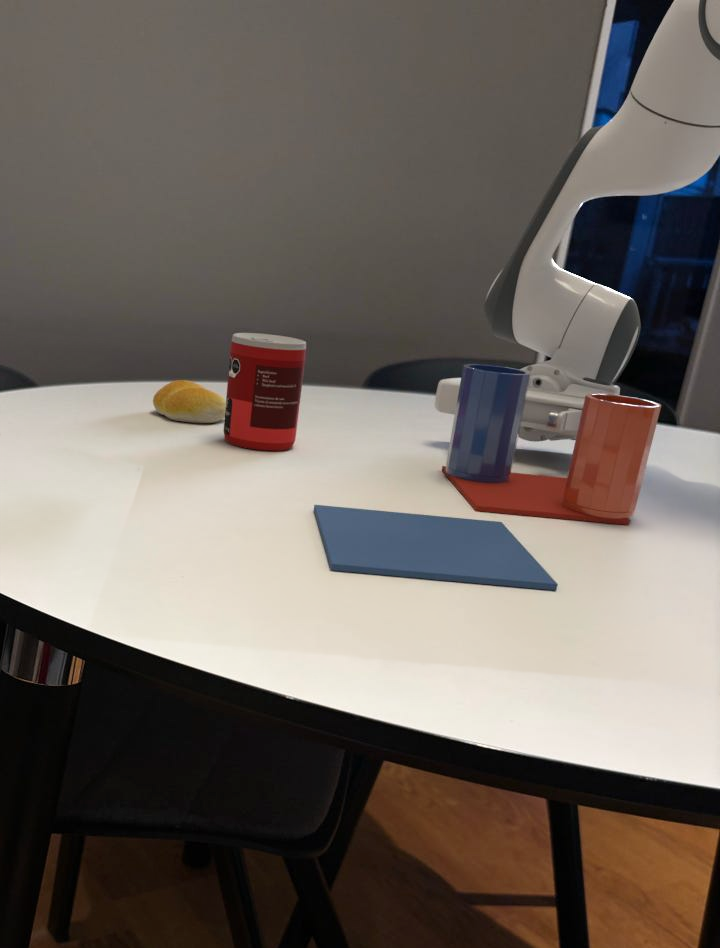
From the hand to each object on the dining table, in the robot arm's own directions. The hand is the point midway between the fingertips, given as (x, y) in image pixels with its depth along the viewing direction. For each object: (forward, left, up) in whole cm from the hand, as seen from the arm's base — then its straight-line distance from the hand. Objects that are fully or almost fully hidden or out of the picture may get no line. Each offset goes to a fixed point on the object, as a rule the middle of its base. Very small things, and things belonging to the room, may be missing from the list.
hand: (509, 414), depth 108 cm
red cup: (-5, +17, -5) cm, 19 cm away
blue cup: (+4, +7, -5) cm, 10 cm away
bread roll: (+34, -13, -6) cm, 37 cm away
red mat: (0, +12, -6) cm, 14 cm away
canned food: (+26, -1, -6) cm, 27 cm away
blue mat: (+14, +33, -6) cm, 37 cm away
